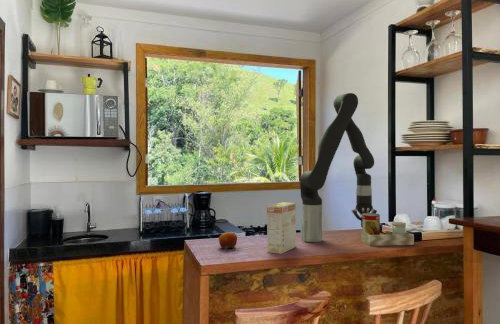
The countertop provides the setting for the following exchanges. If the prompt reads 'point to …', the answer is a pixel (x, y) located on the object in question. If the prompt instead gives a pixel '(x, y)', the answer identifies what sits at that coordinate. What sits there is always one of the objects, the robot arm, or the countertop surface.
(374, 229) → the canned food
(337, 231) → the countertop surface
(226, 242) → the fruit
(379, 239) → the grey green tray
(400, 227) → the jar
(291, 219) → the coffeecake box
